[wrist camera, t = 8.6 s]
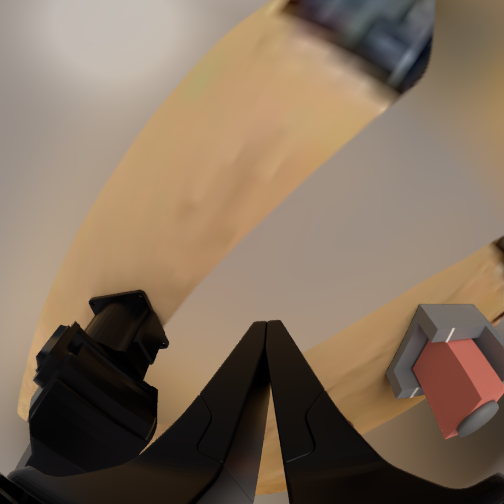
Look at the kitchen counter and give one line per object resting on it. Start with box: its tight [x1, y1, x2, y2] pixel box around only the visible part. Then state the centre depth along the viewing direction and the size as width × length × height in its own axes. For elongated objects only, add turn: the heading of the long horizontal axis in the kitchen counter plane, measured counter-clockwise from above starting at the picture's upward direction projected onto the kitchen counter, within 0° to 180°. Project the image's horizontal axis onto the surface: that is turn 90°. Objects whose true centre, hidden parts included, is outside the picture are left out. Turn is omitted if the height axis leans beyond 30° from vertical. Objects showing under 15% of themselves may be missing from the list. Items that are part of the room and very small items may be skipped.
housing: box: [386, 304, 504, 399], centre depth 21 cm, size 8×10×10 cm
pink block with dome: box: [412, 339, 504, 439], centre depth 19 cm, size 4×6×11 cm
